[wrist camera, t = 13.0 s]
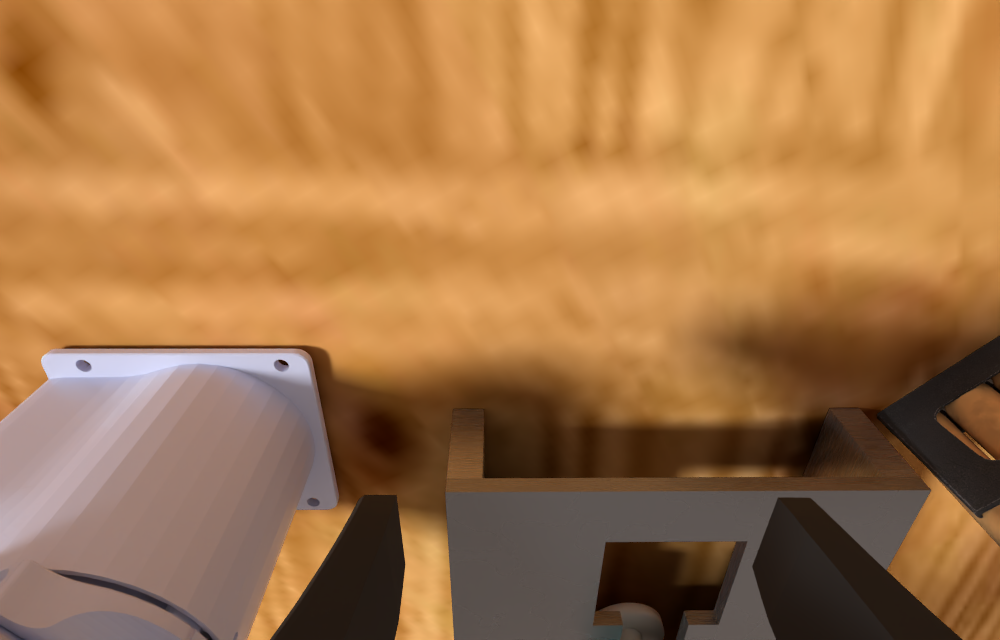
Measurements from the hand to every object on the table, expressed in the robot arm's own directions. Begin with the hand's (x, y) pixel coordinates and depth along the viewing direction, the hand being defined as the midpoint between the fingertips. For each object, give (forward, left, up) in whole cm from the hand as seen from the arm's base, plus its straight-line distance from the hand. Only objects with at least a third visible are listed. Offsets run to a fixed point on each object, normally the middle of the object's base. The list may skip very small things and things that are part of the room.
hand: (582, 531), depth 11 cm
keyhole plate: (+5, -16, -10) cm, 20 cm away
